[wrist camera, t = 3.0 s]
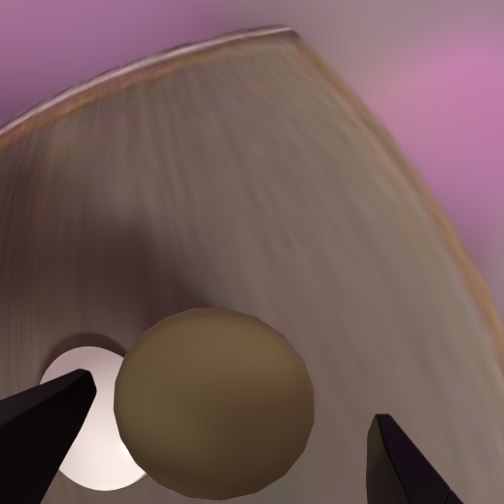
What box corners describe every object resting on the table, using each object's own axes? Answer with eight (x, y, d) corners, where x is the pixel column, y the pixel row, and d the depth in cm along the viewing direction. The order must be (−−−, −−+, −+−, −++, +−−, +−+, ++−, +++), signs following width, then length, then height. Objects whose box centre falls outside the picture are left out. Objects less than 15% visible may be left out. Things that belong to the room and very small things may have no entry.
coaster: (101, 511, 13) (93, 514, 12) (27, 404, 17) (17, 403, 16) (195, 429, 15) (190, 430, 15) (101, 321, 19) (93, 317, 18)
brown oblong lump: (190, 361, 17) (75, 292, 8) (298, 343, 17) (308, 249, 7) (205, 464, 15) (93, 521, 5) (318, 449, 14) (361, 511, 5)
